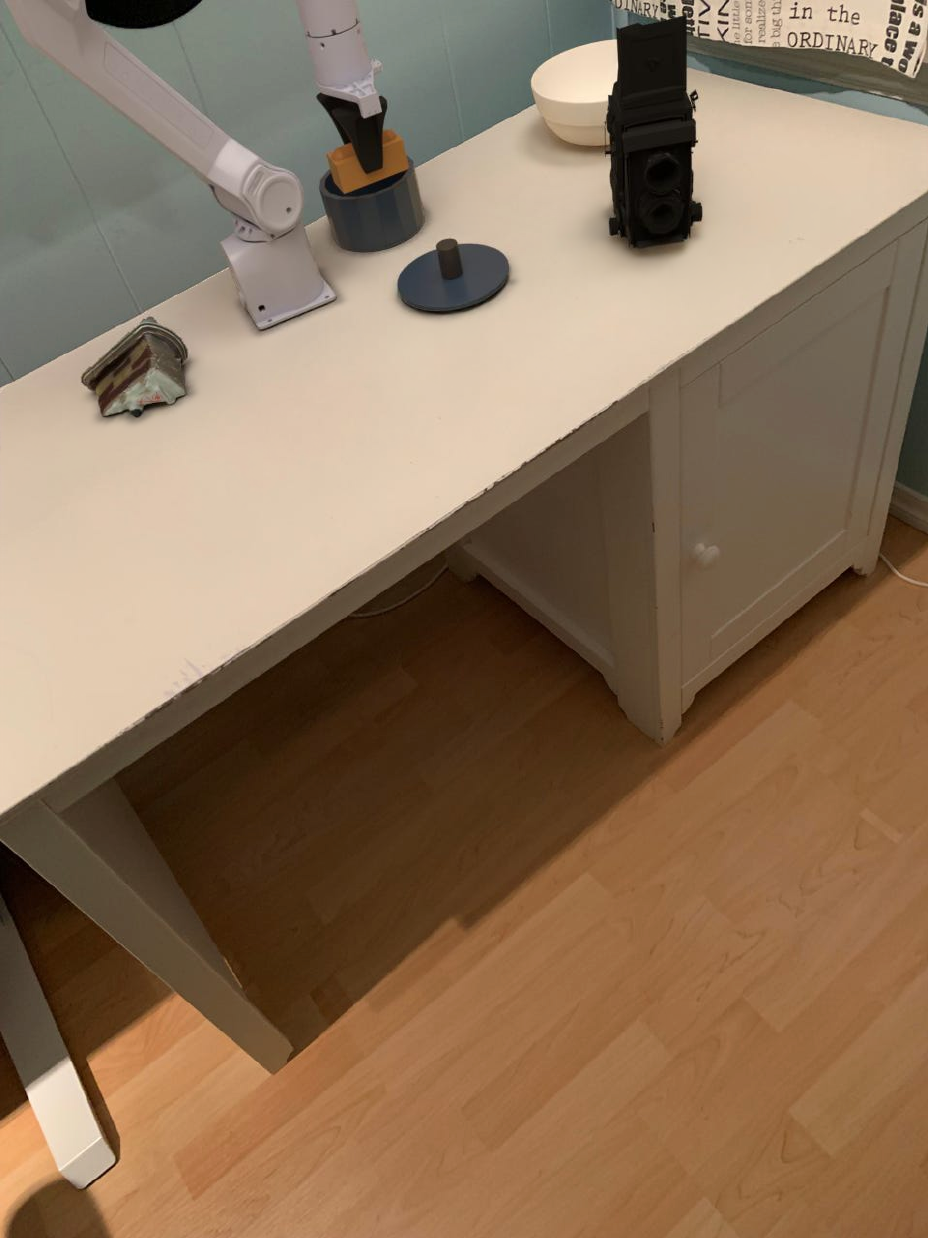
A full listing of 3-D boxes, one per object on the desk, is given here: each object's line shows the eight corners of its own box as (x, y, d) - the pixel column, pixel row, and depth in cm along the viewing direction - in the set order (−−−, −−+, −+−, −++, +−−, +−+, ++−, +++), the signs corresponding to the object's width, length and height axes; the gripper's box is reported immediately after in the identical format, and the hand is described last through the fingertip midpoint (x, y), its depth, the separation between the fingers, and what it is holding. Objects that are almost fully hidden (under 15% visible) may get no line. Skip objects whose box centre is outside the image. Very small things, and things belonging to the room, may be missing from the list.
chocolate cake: (84, 436, 92) (123, 359, 84) (75, 384, 95) (112, 305, 87) (172, 451, 98) (216, 380, 91) (161, 402, 101) (203, 329, 93)
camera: (615, 271, 93) (607, 63, 78) (602, 208, 101) (592, 9, 86) (711, 256, 92) (723, 41, 76) (690, 193, 100) (696, -12, 85)
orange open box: (344, 194, 97) (334, 157, 94) (334, 182, 100) (323, 146, 96) (409, 168, 98) (401, 131, 95) (397, 157, 101) (389, 121, 98)
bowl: (689, 94, 116) (691, 32, 110) (666, 163, 105) (666, 98, 100) (555, 101, 121) (550, 43, 116) (520, 167, 111) (513, 106, 106)
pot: (353, 263, 104) (337, 210, 99) (322, 225, 111) (306, 174, 106) (439, 227, 105) (428, 173, 100) (403, 193, 112) (391, 141, 107)
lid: (425, 330, 92) (416, 291, 89) (382, 280, 100) (372, 242, 97) (530, 285, 94) (525, 245, 91) (479, 239, 102) (473, 201, 98)
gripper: (394, 30, 83) (424, 173, 94) (345, -5, 92) (377, 129, 103) (326, 55, 82) (364, 197, 93) (283, 18, 91) (322, 151, 102)
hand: (367, 163), depth 98 cm, fingers closed on orange open box, 3 cm apart
